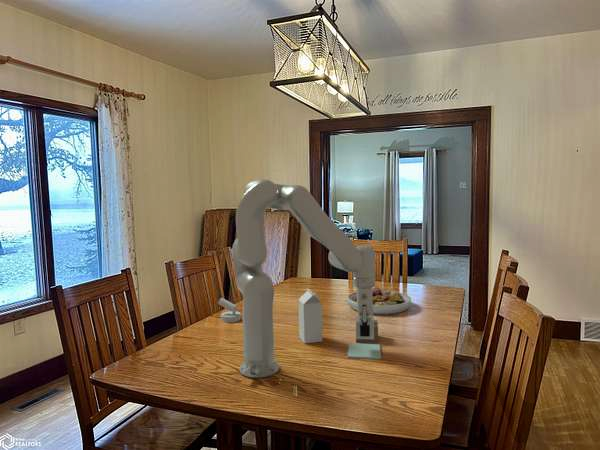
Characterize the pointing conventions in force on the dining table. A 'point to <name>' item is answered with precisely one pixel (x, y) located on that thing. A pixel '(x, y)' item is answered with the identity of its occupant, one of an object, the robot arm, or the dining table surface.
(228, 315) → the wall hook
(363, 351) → the mat
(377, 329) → the post
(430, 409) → the dining table surface
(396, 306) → the bowl
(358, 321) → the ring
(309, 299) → the milk carton
